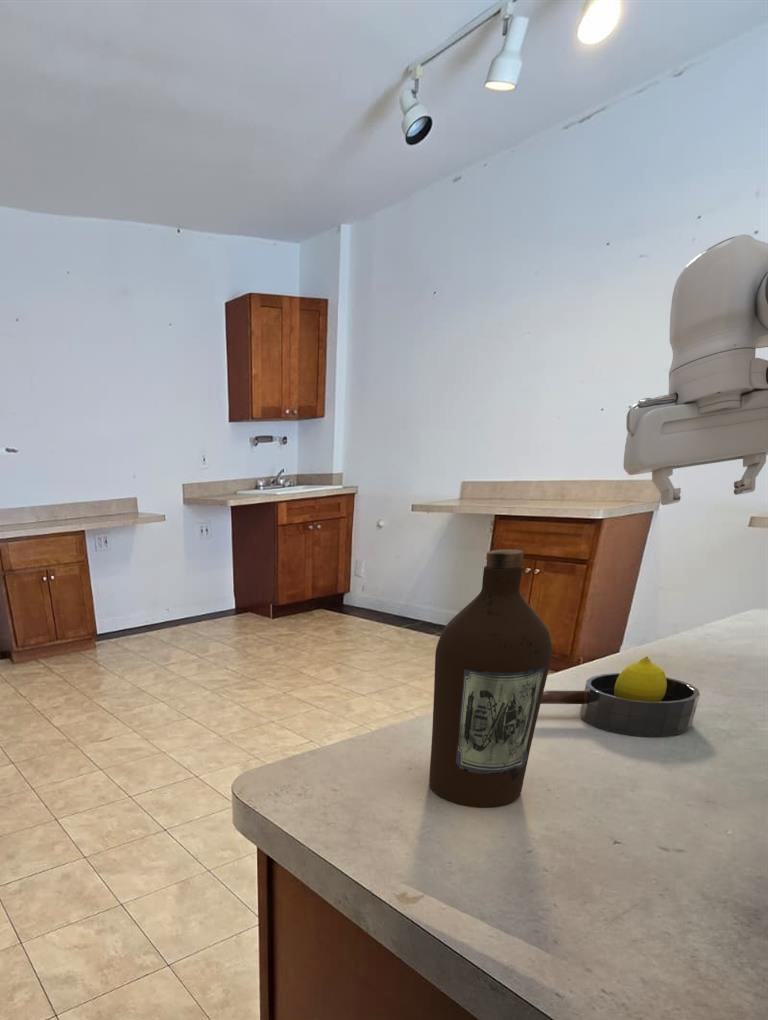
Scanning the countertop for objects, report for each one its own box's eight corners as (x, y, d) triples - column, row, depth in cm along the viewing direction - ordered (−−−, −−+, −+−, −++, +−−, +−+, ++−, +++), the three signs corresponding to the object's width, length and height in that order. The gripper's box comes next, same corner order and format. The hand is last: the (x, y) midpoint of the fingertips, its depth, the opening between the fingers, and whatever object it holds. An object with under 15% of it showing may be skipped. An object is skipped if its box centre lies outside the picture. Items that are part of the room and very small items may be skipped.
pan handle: (586, 701, 85) (589, 688, 85) (591, 706, 84) (593, 693, 83) (499, 700, 88) (501, 688, 87) (502, 705, 86) (504, 692, 86)
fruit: (635, 726, 81) (649, 665, 78) (598, 712, 86) (610, 654, 82) (669, 719, 82) (685, 658, 79) (631, 706, 87) (644, 648, 84)
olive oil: (414, 767, 76) (433, 548, 65) (507, 765, 75) (542, 541, 64) (436, 811, 66) (462, 562, 56) (543, 810, 65) (591, 555, 54)
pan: (666, 704, 88) (674, 672, 86) (708, 738, 77) (719, 703, 76) (568, 703, 91) (574, 672, 89) (596, 736, 80) (603, 702, 78)
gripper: (641, 392, 82) (641, 505, 84) (813, 365, 80) (807, 481, 82) (613, 409, 88) (613, 514, 91) (772, 384, 86) (767, 492, 89)
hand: (707, 498), depth 86 cm, fingers open, 8 cm apart
